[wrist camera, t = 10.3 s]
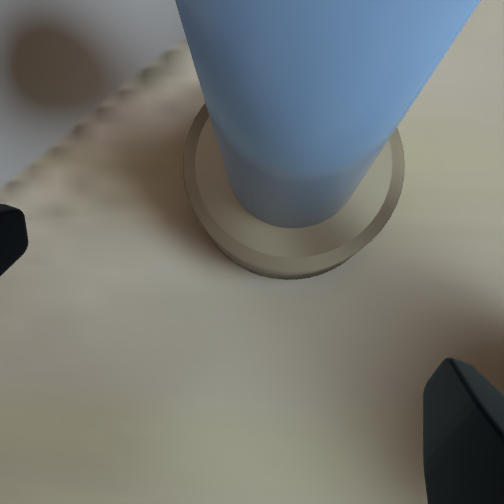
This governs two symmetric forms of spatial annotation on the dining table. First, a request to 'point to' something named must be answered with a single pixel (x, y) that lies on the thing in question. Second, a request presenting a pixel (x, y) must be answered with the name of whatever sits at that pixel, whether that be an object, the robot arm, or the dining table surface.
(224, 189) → the grey-beige round disc
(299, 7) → the vase
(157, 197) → the dining table surface
